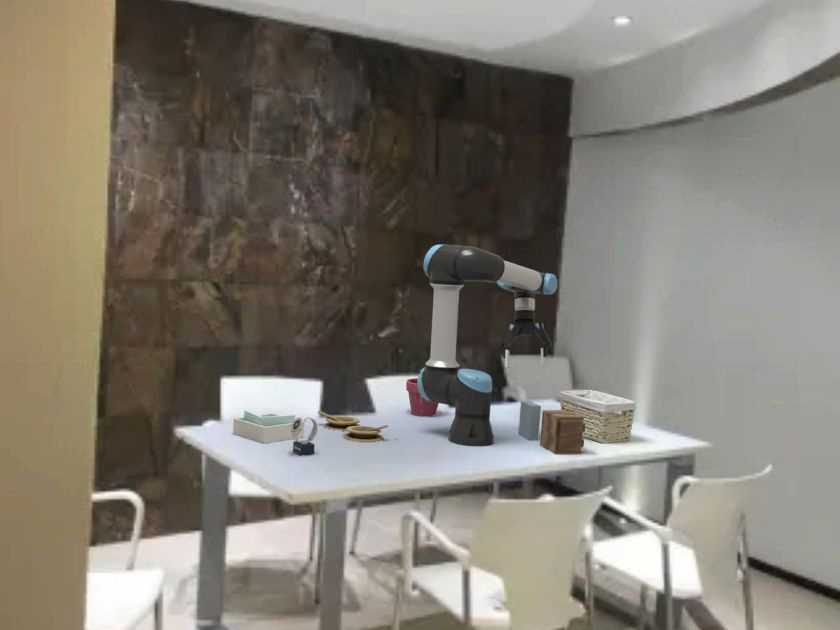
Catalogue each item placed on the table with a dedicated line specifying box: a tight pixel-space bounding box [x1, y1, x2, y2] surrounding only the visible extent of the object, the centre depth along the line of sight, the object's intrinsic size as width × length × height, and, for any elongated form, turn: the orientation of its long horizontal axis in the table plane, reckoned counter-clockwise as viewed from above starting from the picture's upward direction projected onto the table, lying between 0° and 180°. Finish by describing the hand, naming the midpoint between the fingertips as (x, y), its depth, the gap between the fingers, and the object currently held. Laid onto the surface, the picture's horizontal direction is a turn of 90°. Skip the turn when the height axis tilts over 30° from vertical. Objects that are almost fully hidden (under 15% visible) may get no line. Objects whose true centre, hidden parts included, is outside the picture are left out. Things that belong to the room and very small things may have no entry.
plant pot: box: [405, 377, 440, 417], centre depth 347 cm, size 14×14×13 cm
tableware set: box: [317, 410, 398, 443], centre depth 308 cm, size 30×20×6 cm, turn 30°
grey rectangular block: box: [518, 400, 542, 442], centre depth 317 cm, size 9×4×12 cm, turn 17°
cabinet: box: [539, 409, 585, 455], centre depth 302 cm, size 12×10×12 cm
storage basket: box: [559, 389, 637, 444], centre depth 327 cm, size 24×16×15 cm
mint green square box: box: [243, 409, 296, 427], centre depth 295 cm, size 12×12×8 cm
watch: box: [291, 415, 319, 457], centre depth 275 cm, size 6×8×11 cm
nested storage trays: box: [232, 412, 305, 444], centre depth 295 cm, size 16×16×5 cm
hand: (525, 366), depth 341 cm, fingers open, 13 cm apart
